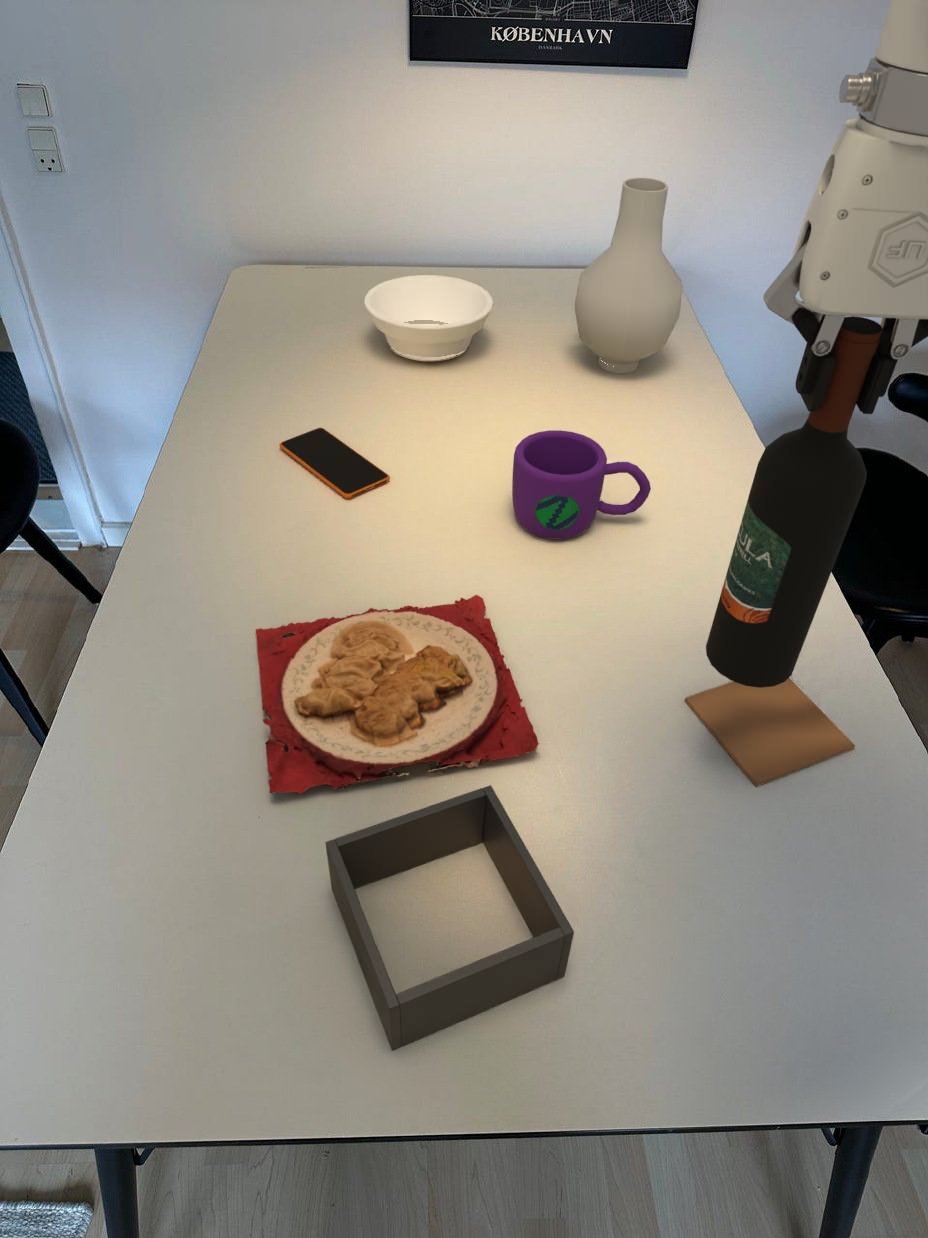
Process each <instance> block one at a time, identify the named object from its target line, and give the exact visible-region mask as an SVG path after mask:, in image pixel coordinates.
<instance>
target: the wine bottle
mask: <svg viewBox="0 0 928 1238" xmlns="http://www.w3.org/2000/svg"><path fill="white" fill-rule="evenodd" d="M882 329H883V328H882V326H881V323H878V322H877V321H875V320H873V319H870V318H868V317H857V316H845V318H844V320H843V323H842V325H841V328H840V330H839V332H838V335H837V337H836V340H835V342H834V347H833V350H832V352H833V354H834V356H835V357H836V364H835V367H834V370H833V373H832V376H831V379H830V382H829V386H828V389H827V392H826V395H825V398H824V401H823V404H822V407H821V409H820V410H818V411H817V412H810V411H809V413H808V416H807V418H806V421H805V422H804V423H803V425H802V427H800V428H797V429H794V430H791V431H788V432H784V433H782V435H780V436H778V437H777V438H776V439H774V440H772V441H771V442H770V443H769V444H768V445H766V447H765V448H764V450H763V452H762V455H761V456H760V458H759V459H758V460H759V461H758V462H757V466H756V470H755V473H754V476H753V480H752V483H751V486H750V490H749V493H748V497H747V501H746V505H745V507H744V511H743V515H742V518H741V521H740V524H739V529H738V532H737V535H736V536H737V537H736V539H735V543H734V546H733V549H732V553H731V557H730V561H729V564H728V566H727V571H726V575H725V577H724V581H723V584H722V588H721V592H720V595H719V599H718V602H717V606H716V610H715V612H714V616H713V620H712V623H711V627H710V630H709V633H708V637H707V641H706V644H705V653H706V657H707V660H708V661H709V664H710V665H711V667H713V668H714V670H716V672H718V673H719V674H720V675H721V676H723V677H725V678H726V679H728V680H730V682H736V683H739V684H742V685H745V686H751V687H759V688H762V687H772V686H776V685H778V684H781V683H783V682H785V681H786V680H787V679H788V678H790V677H792V675H793V673H794V671H795V667H796V665H797V662H798V660H799V657H800V654H801V651H802V648H803V647H804V644H805V642H806V639H807V636H808V633H809V631H810V629H811V625H812V623H813V620H814V618H815V615H816V612H817V611H818V608H819V605H820V602H821V600H822V597H823V594H824V592H825V589H826V587H827V584H828V582H829V579H830V577H831V573H832V572H833V568H834V566H835V564H836V561H837V559H838V557H839V553H840V551H841V548H842V545H843V542H844V540H845V537H846V535H847V532H848V530H849V528H850V524H851V522H852V520H853V516H854V515H855V512H856V509H857V508H858V507H857V506H858V504H859V501H860V499H861V497H862V494H863V491H864V489H865V484H866V480H867V476H868V471H867V469H866V465H865V463H864V460H863V457H862V455H861V452H860V451H859V450H858V448H856V447H855V445H854V444H853V443H852V442H851V441H850V440H849V439H848V434H849V433H848V430H849V426H850V422H851V420H852V418H853V414H854V411H855V409H856V406H857V405H856V403H857V400H858V397H859V394H860V392H861V389H862V386H863V383H864V380H865V377H866V375H867V372H868V369H869V366H870V363H871V360H872V357H873V355H875V352H876V350H877V347H878V344H879V341H880V335H881V332H882Z"/></svg>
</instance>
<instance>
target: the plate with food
mask: <svg viewBox="0 0 928 1238" xmlns="http://www.w3.org/2000/svg"><path fill="white" fill-rule="evenodd" d="M486 610H487V607H486V604H485V601H484V597H481V596H480V595H478V594H475V595H472V596H471V597H469V598H467V599H465V597H460V600H458V599H456V600H454V603H447V604H439V605H432V606H425V607H419V606H412V605H404V606H401V607H400V608H396V609H388V608H383V609H378V608H377V609H376V608H373V607H370V608H368V610H367V611H364V612H362V613H355V614H354V613H353V614H349V615H346V616H345V617H334V616H331V617H330V618H327V617H322V618H317V619H315V620H314V621H312V622H310V621H305V622H296V623H294V622H290V623H288V624H287V625H281V626H278V627H273V628H272V627H270V628H261V627H260V628H255V637H256V647H257V649H256V651H257V657H258V658H257V659H258V667H259V668H258V670H259V679H260V690H261V691H260V692H261V693H260V694H261V702H262V703H261V704H262V711H264V712H265V713H266V714H267V715H268V716H269V717H270V719H268V718H263V719H262V722H263V724H265V725H267V726H269V731H270V732H269V735H270V738H268V740H266V741H265V743H264V744H265V751H266V764H267V772H268V775H269V777H270V779H269V780H268V787H269V788H268V789H269V790H268V791H269V793H271V794H272V793H282V794H283V793H294V792H295V793H297V794H303V793H304V792H305V791H306V790H308V789H310V788H314V787H317V786H321V785H328V786H331V787H332V788H333V789H334V790H337V789H338V788H344V789H345V788H346V787H348V785H349V784H357V783H358V782H361V783H365V782H366V781H368V782H369V781H373V782H374V781H376V780H379V779H384V778H388V777H393V776H395V777H398V778H401V777H403V776H409V775H410V774H411V772H410V771H407V772H402V773H401V772H399V771H398V772H397V771H396V772H390V773H382V772H384V771H388V770H391V769H395V768H398V767H403V766H406V765H407V766H410V765H416V764H418V763H429V762H437V763H436V765H437V766H438V767H437V768H430V769H429V770H427V772H428V773H433V772H436V771H438V773H441V774H444V773H445V772H444V771H445V770H447V769H452V768H453V769H454V768H457V767H458V768H459V767H463V768H464V767H467V768H468V769H471V768H473V767H475V768H477V767H478V766H479V765H482V764H483V763H484V761H486V762H491V761H495V760H501V759H507V758H513V757H519V756H522V755H526V754H528V753H533V752H534V751H535V750H536V749H537V748H538V746H539V745H540V744H541V743H540V742H539V739H538V736H537V734H536V733H535V731H534V725H533V723H532V722H531V721H530V719H529V715H528V713H527V710H526V707H525V706H522V704H521V703H522V701H523V699H522V698H521V696H520V694H519V691H518V689H517V686H516V683H515V681H514V678H513V674H512V672H511V669H510V668H509V667H507V666H506V663H505V660H504V659H505V655H504V654H502V652H501V651H500V646H499V642H498V639H497V636H496V632H495V631H494V628H493V625H492V621H491V618H488V617H483V616H484V614H485V612H486ZM288 634H294V635H292V636H291V635H290V636H287V637H283V636H285V635H288ZM277 741H278V742H277ZM285 745H286V746H287V748H288V749H287V750H288V751H286V750H285V749H284V746H285ZM442 770H444V771H442Z"/></svg>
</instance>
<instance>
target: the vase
mask: <svg viewBox="0 0 928 1238" xmlns="http://www.w3.org/2000/svg"><path fill="white" fill-rule="evenodd" d="M668 191H669V185H668V183H666V182H665V181H663V180H660V179H656V178H650V177H631V178H627V179H625V180H624V181H623V182H622V186H621V193H620V202H619V208H618V215H617V219H616V221H615V227H614V230H613V234H612V237H611V241H610V245H609V247H608V248H606V249H605V250H604V251H603V252H602V253H601V254H600V255H599V256H597V258H595V259H594V260H593V261H592V262H591V263H590V264H589V265H588V266H587V267H585V268H584V269H583V270H582V271H581V272H580V273H579V278H578V283H577V289H576V295H575V300H574V313H575V320H576V325H577V332H578V337H579V339H580V341H582V343H583V344H584V345H585V346H586V347H587V348H588V349H590V350H591V351H592V352H594V353H595V354H596V355H598V356H599V360H598V363H599V366H600V368H602V369H603V370H605V371H608V372H610V373H615V374H627V373H632V372H634V371H636V370H637V368H638V366H639V361H640V360H643V359H645V358H648V357H649V356H651V355H653V354H656V353H658V352H660V351H661V350H662V349H663V348H664V347H665V346H666V344H667V342H668V341H669V338H670V336H671V334H672V333H673V330H674V328H675V327H676V324H677V323H678V320H679V318H680V315H681V305H682V297H683V291H684V290H683V288H684V286H683V281H682V279H681V277H680V275H679V274H678V273H677V271H676V270H675V268H674V267H673V266H672V264H671V262H670V261H669V259H668V258H667V256H666V254H665V253H664V252H663V250H662V249H663V227H664V226H663V224H664V216H665V210H666V203H667V197H668ZM600 358H601V359H600ZM601 360H602V361H603V362H602V361H601ZM604 362H605V363H606V364H605V363H604ZM637 362H638V363H637ZM607 364H608V365H607ZM613 366H614V367H613Z"/></svg>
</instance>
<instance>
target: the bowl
mask: <svg viewBox="0 0 928 1238" xmlns="http://www.w3.org/2000/svg"><path fill="white" fill-rule="evenodd" d="M493 300H494V299H493V298H492V295H491V294H490V293H489V292H488V291H487V290H486V289H485V288H484V287H481V286H480V285H478V284H476V283H474V282H471V281H469V280H465V279H463V278H462V279H461V278H458V277H452V276H447V275H438V274H437V275H436V274H420V275H419V274H418V275H408V276H400V277H397V278H392V279H388V280H386V281H382V282H380V283H379V284H376V285H375V286H373V287H372V288H370V289H369V290H368V291H367V293H366V295H365V297H364V300H363V302H364V303H363V304H364V306H365V309H366V311H367V313H368V315H369V317H370V319H371V321H372V322H373V325H374V326H375V327H376V329H377V330H378V331H380V332H382V334H384V336H385V339H386V342H387V344H388V343H389V345H390V346H391V347H393V348H394V349H395V350H397V351H399V352H401V353H403V354H410V355H415V356H421V357H441V356H447V355H451V354H458V353H460V352H462V351H464V350H465V349H466V348H467V347H468V346H470V344H471V341H472V339H473V336H474V335H475V334H476V333H479V331H480V330H481V329H482V328H483V327H484V325H485V323H486V321H487V319H488V317H489V315H490V313H491V312H492V309H493V306H494V301H493ZM414 320H433V321H440V322H444V323H448V324H443V325H439V324H409V323H404V322H408V321H414ZM389 345H388V346H389ZM468 349H469V347H468V348H467V349H466V350H465V351H464V352H463V353H461V354H459V355H457V356H455V357H451V358H447V359H441V360H418V359H413V358H408V357H405V356H402V355H400V354H398V353H396V352H395V351H393V350H392V349H391V348H390V350H391V351H392V352H393V353H395V354H396V355H397V356H400V357H402V358H406V359H409V360H413V361H420V362H441V361H447V360H450V359H454V358H456V357H459V356H461V355H462V354H464V353H465V352H466V351H468Z"/></svg>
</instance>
